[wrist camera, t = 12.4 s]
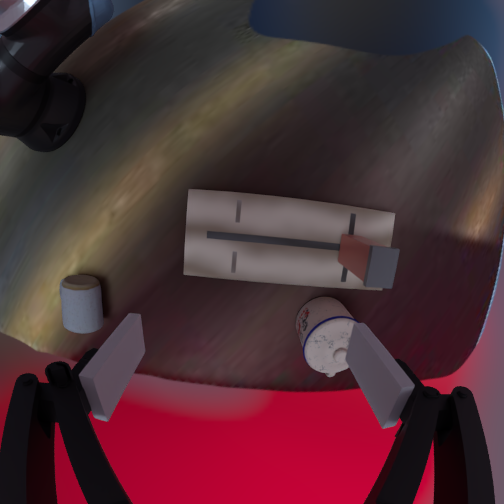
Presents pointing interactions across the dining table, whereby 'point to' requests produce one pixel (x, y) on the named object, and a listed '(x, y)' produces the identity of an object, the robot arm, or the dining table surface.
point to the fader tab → (368, 260)
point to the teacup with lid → (325, 334)
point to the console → (276, 238)
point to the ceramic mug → (81, 303)
